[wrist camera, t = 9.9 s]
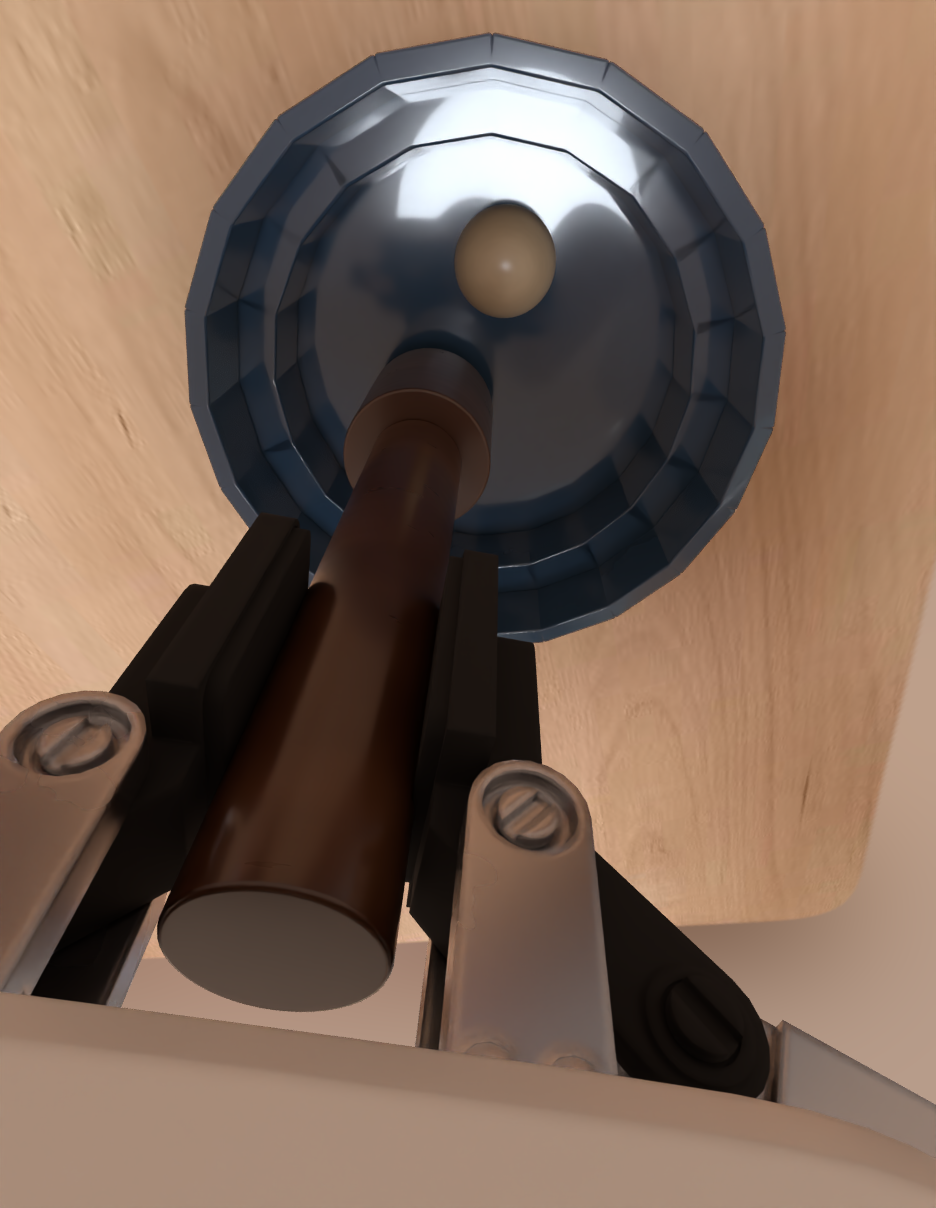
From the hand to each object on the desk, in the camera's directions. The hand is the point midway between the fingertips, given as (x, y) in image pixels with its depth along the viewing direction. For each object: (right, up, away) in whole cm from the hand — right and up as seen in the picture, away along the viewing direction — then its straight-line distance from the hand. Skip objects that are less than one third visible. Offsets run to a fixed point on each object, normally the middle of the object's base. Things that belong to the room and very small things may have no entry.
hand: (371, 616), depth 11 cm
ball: (+2, +9, +6) cm, 11 cm away
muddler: (0, +6, +9) cm, 11 cm away
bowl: (+2, +8, +9) cm, 12 cm away
